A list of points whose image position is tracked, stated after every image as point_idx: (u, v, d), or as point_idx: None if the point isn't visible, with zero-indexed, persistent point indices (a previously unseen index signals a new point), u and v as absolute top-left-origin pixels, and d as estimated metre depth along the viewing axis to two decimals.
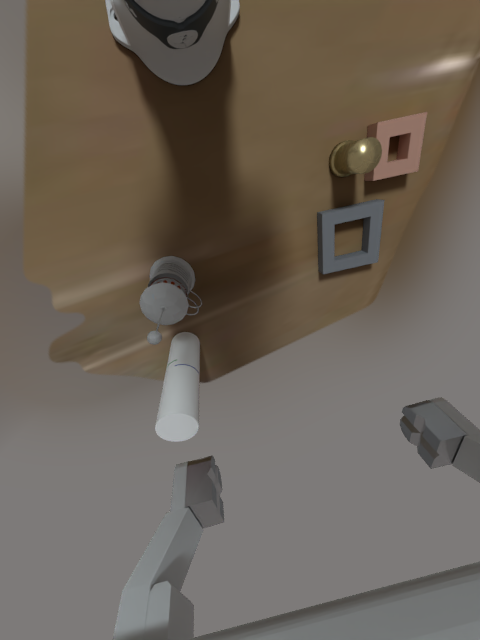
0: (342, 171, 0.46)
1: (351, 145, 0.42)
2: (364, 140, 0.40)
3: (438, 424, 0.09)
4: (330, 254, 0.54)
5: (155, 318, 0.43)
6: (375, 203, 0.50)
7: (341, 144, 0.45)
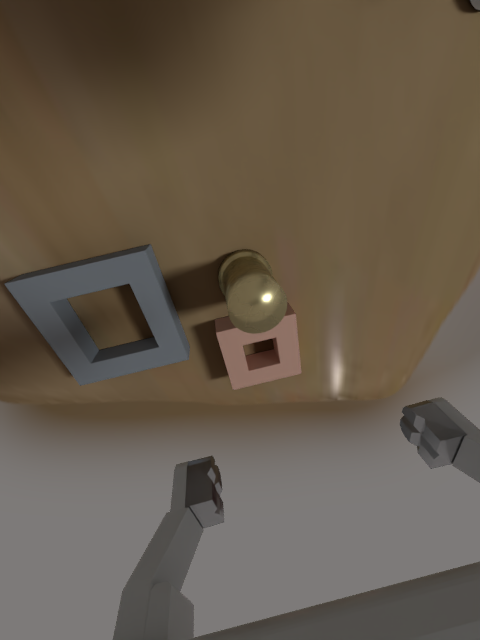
0: (227, 274, 0.24)
1: (271, 275, 0.22)
2: (282, 295, 0.20)
3: (438, 424, 0.09)
4: (61, 290, 0.23)
5: None
6: (181, 347, 0.28)
7: (267, 264, 0.26)
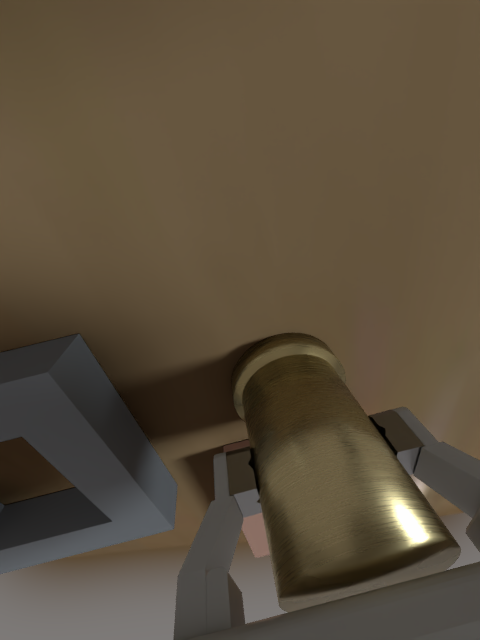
0: (258, 410, 0.10)
1: (388, 450, 0.08)
2: (452, 551, 0.06)
3: (397, 434, 0.09)
4: None
5: None
6: (158, 517, 0.14)
7: (337, 366, 0.12)
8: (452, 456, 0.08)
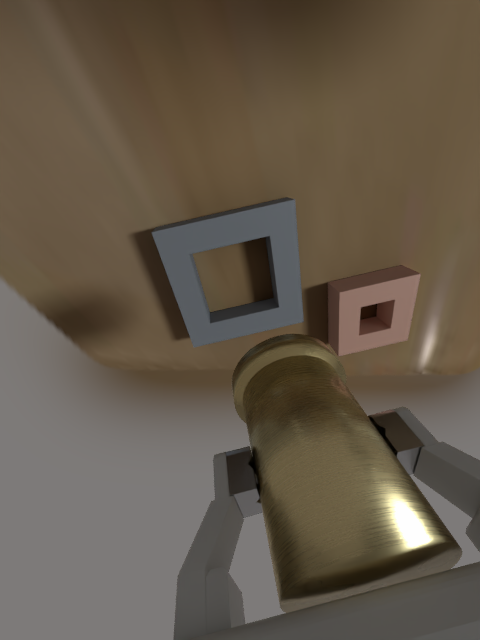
0: (259, 412, 0.10)
1: (390, 451, 0.08)
2: (453, 553, 0.06)
3: (397, 434, 0.09)
4: (203, 241, 0.23)
5: None
6: (300, 308, 0.28)
7: (338, 367, 0.12)
8: (452, 456, 0.08)
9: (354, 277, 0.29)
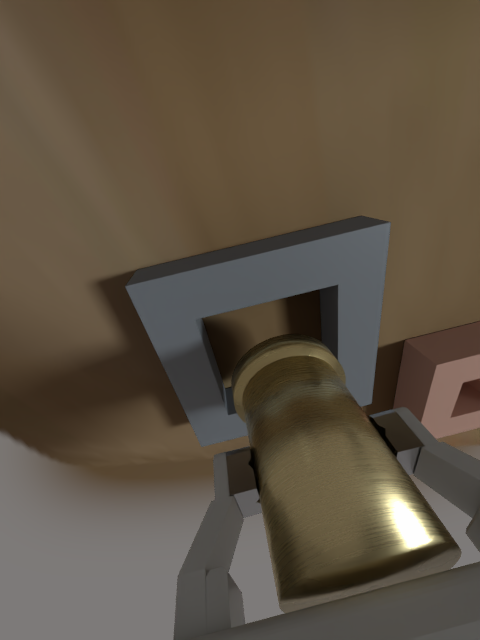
0: (259, 412, 0.10)
1: (389, 452, 0.08)
2: (453, 553, 0.06)
3: (397, 434, 0.09)
4: (221, 297, 0.13)
5: None
6: (369, 387, 0.17)
7: (337, 367, 0.12)
8: (452, 456, 0.08)
9: (446, 332, 0.19)
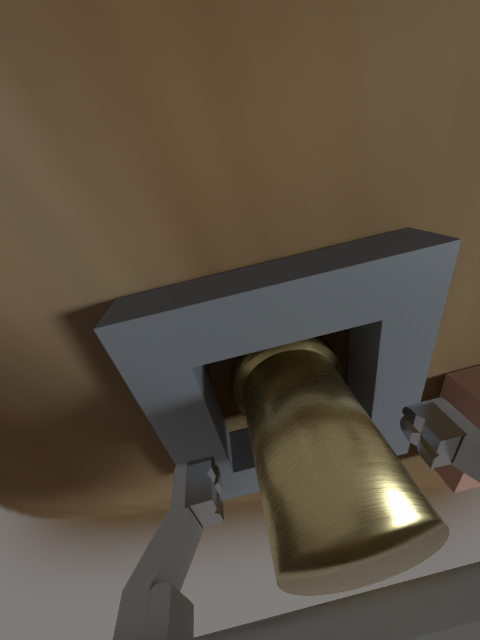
0: (258, 403, 0.10)
1: (382, 439, 0.08)
2: (441, 532, 0.07)
3: (438, 424, 0.09)
4: (227, 340, 0.09)
5: None
6: None
7: (334, 361, 0.12)
8: None
9: None
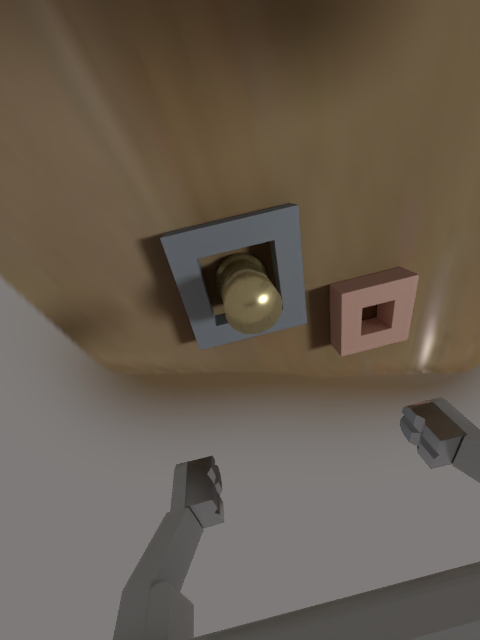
0: (224, 276, 0.24)
1: (267, 278, 0.22)
2: (278, 296, 0.21)
3: (438, 424, 0.09)
4: (210, 246, 0.23)
5: None
6: (303, 310, 0.28)
7: (262, 267, 0.27)
8: None
9: (355, 279, 0.30)
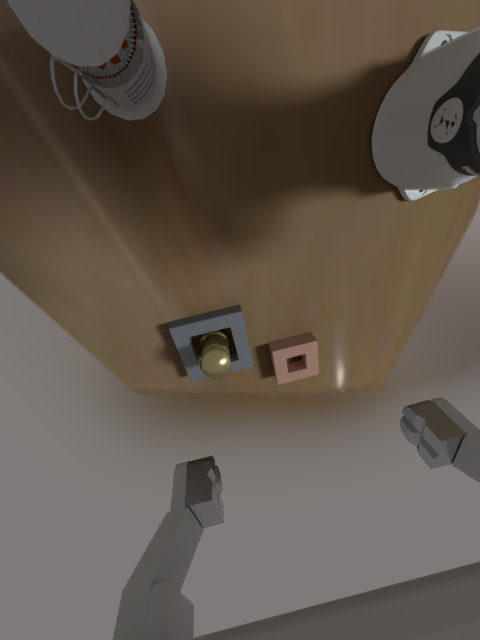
0: (203, 346, 0.45)
1: (224, 350, 0.43)
2: (228, 362, 0.41)
3: (438, 424, 0.09)
4: (195, 331, 0.44)
5: None
6: (251, 360, 0.49)
7: (226, 337, 0.47)
8: None
9: (283, 340, 0.50)
